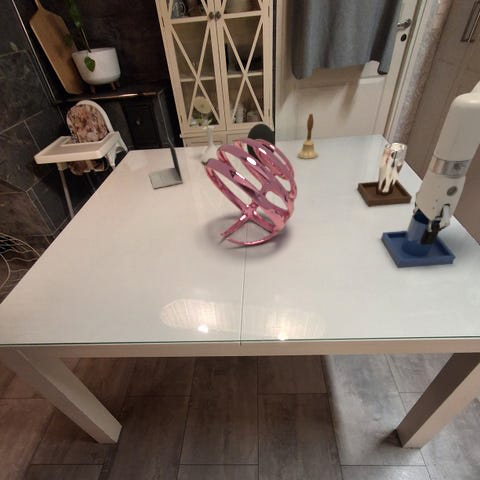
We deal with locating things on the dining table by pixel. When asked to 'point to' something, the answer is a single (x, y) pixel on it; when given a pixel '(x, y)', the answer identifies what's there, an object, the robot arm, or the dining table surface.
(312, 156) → the hand bell
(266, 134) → the decorative egg
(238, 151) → the spiral basket
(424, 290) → the dining table surface
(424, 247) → the blue cup
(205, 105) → the flower in vase
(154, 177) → the laptop
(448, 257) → the blue tray
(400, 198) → the walnut tray
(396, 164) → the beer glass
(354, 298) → the dining table surface
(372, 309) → the dining table surface
